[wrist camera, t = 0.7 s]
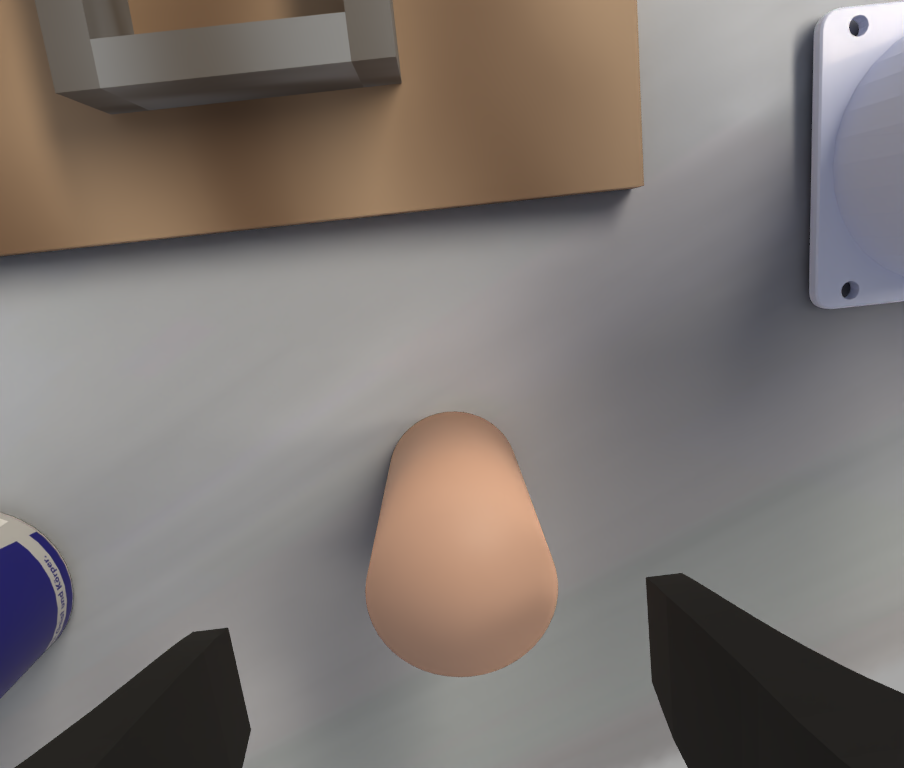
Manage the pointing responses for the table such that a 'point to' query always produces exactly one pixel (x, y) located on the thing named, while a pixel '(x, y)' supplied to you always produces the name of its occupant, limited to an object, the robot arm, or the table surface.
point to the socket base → (303, 112)
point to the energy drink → (29, 597)
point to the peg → (459, 552)
